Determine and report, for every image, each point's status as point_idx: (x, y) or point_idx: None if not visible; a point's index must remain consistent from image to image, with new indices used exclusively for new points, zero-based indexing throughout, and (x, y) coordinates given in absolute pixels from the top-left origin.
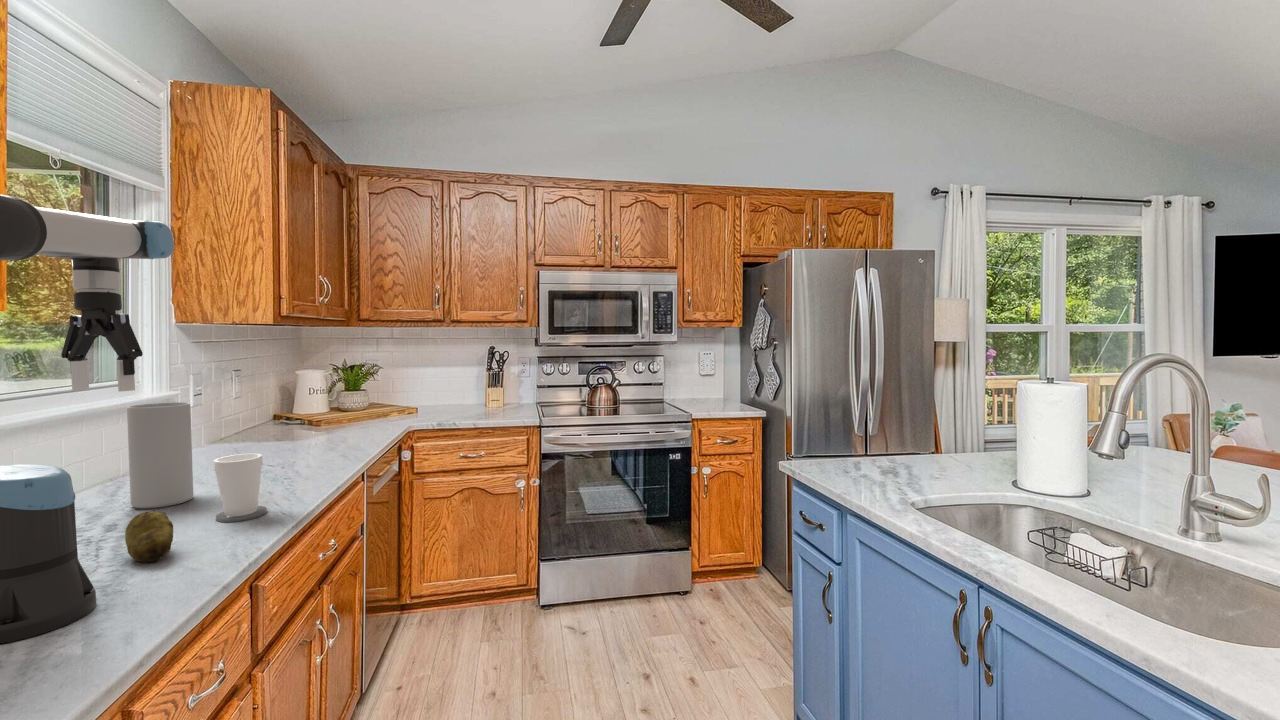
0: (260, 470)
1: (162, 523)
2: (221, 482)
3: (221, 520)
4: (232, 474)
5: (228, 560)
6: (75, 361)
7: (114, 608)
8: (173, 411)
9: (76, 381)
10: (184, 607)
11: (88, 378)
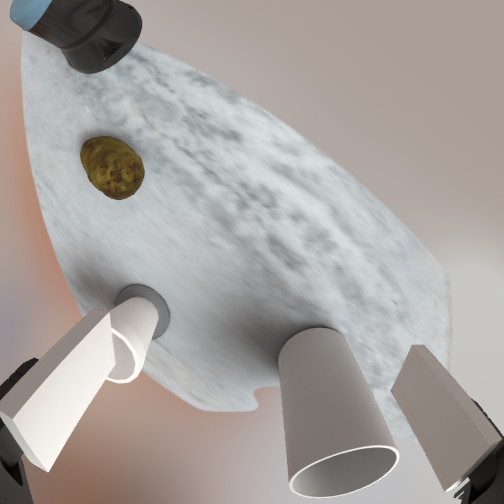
0: None
1: (89, 169)
2: (122, 313)
3: (142, 286)
4: None
5: (45, 173)
6: (481, 453)
7: (63, 73)
8: (293, 465)
9: (430, 379)
10: (25, 95)
11: (411, 426)
